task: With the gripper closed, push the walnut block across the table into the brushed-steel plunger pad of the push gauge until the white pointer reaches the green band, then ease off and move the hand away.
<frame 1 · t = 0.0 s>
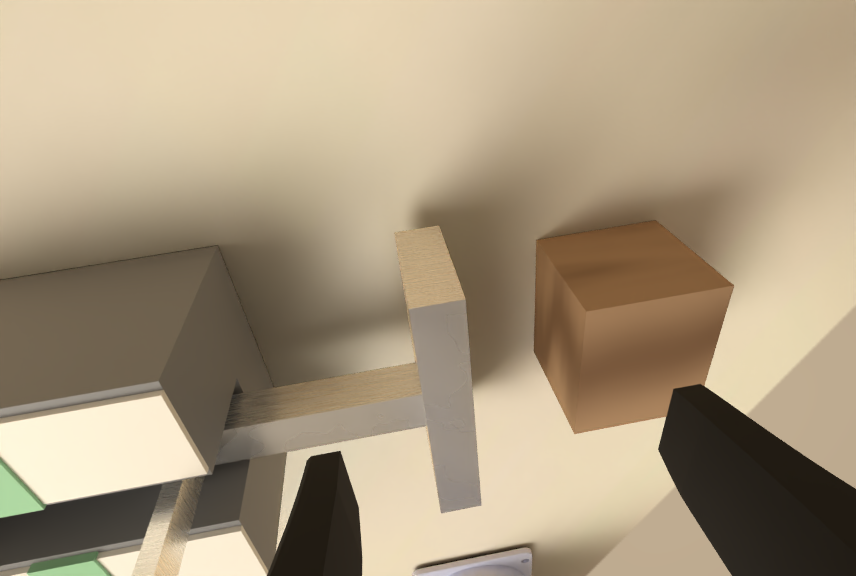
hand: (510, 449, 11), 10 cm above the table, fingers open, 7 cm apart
gauge housing: (329, 336, 21), on the table
walnut block: (589, 289, 22), on the table
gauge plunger: (316, 444, 16), point 6 cm above the table, slide at 0.0 cm
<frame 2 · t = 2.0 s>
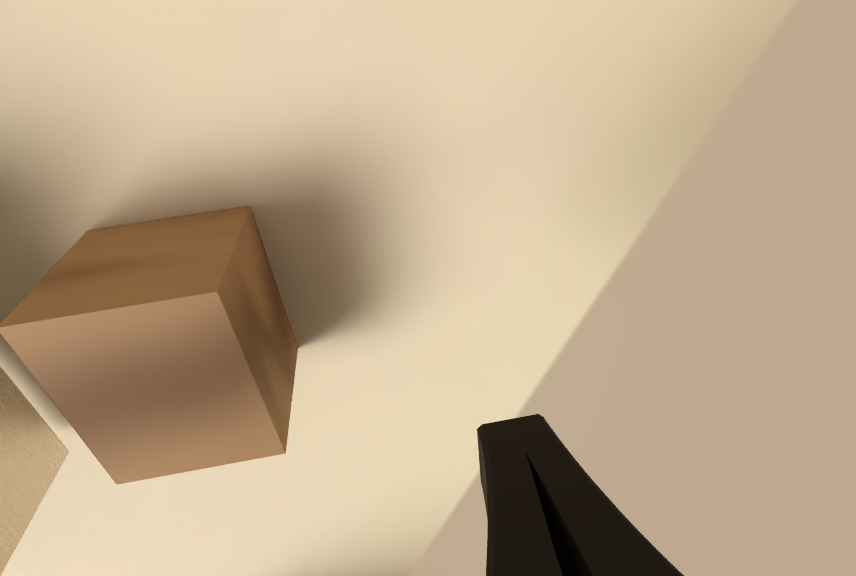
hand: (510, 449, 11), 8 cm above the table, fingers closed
walnut block: (204, 294, 17), on the table
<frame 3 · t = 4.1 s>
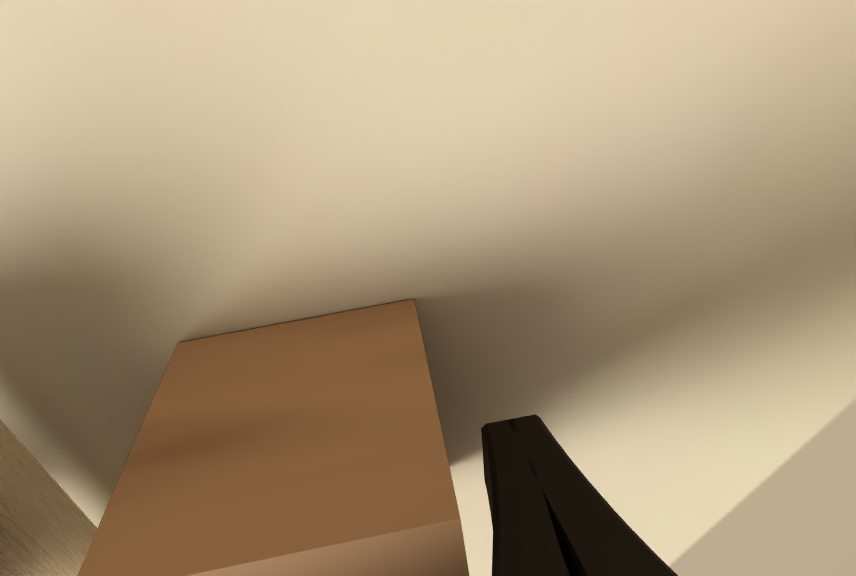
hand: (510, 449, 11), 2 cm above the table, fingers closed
walnut block: (330, 416, 12), on the table, touching gripper
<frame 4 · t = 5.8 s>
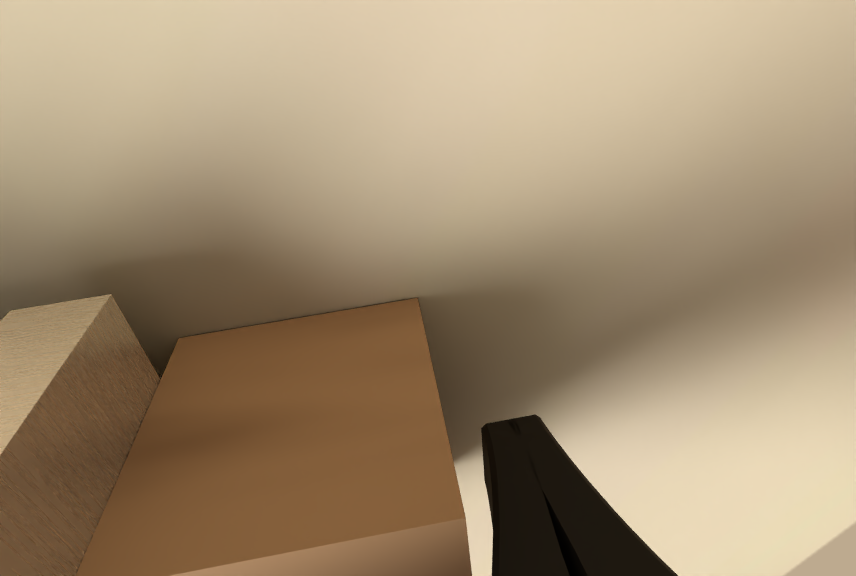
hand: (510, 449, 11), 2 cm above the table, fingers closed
walnut block: (330, 414, 12), on the table, touching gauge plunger, gripper
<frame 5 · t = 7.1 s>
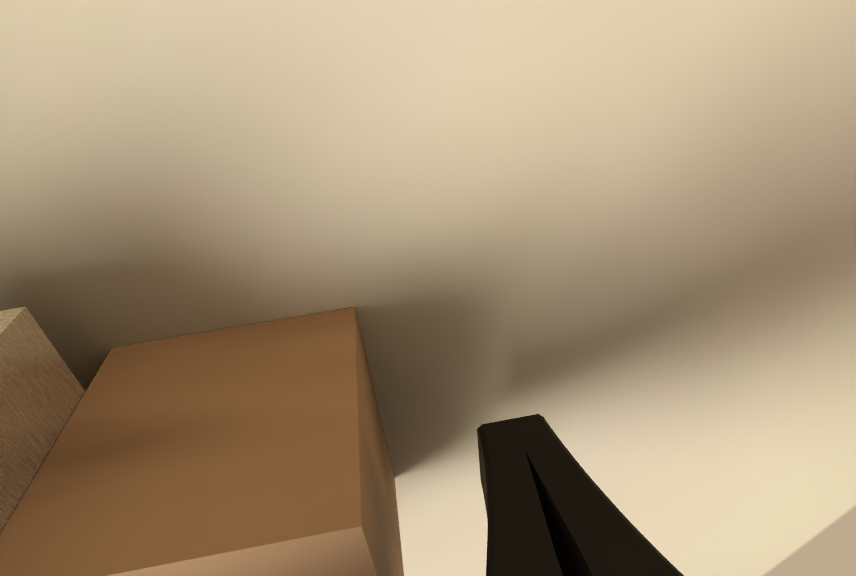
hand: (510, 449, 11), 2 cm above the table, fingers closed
walnut block: (275, 419, 12), on the table
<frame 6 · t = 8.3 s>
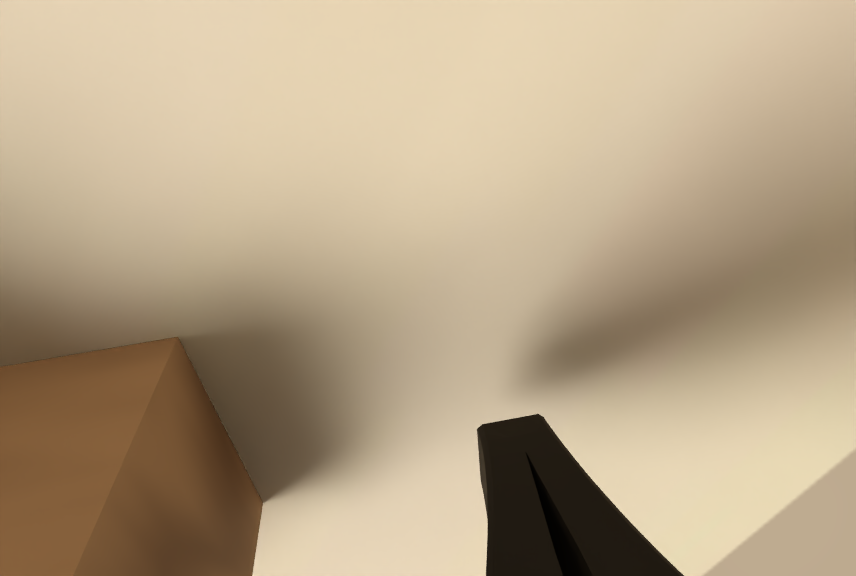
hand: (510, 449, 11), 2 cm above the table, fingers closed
walnut block: (121, 447, 12), on the table
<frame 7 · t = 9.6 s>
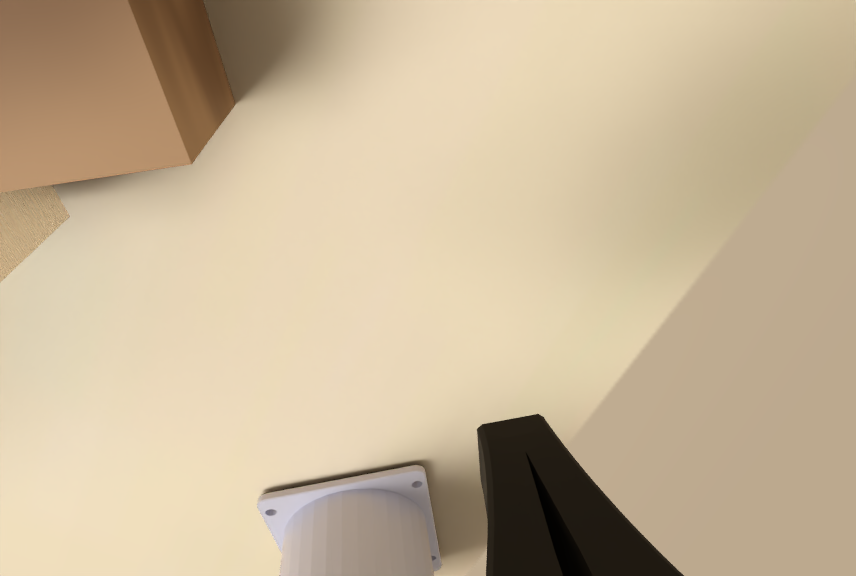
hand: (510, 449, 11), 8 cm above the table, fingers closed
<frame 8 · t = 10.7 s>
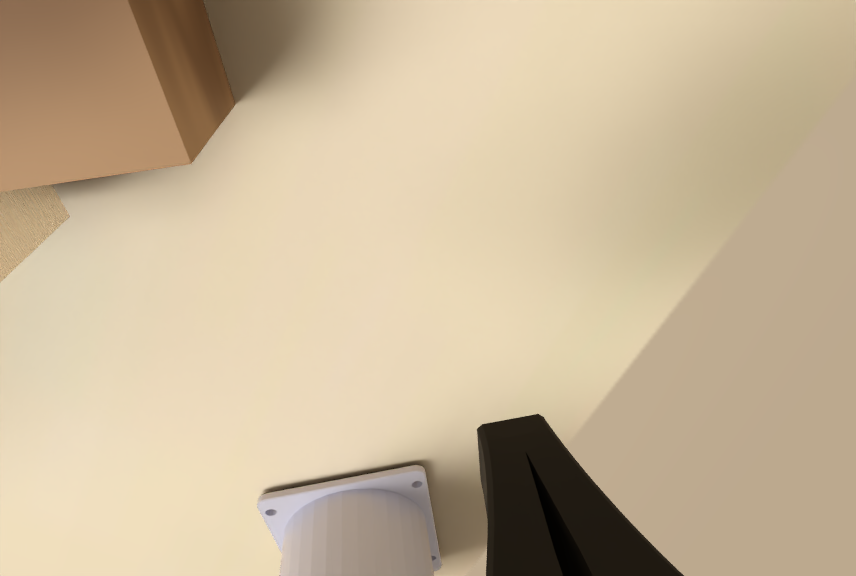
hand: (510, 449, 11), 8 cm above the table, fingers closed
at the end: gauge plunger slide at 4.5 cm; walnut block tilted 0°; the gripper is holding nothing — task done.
